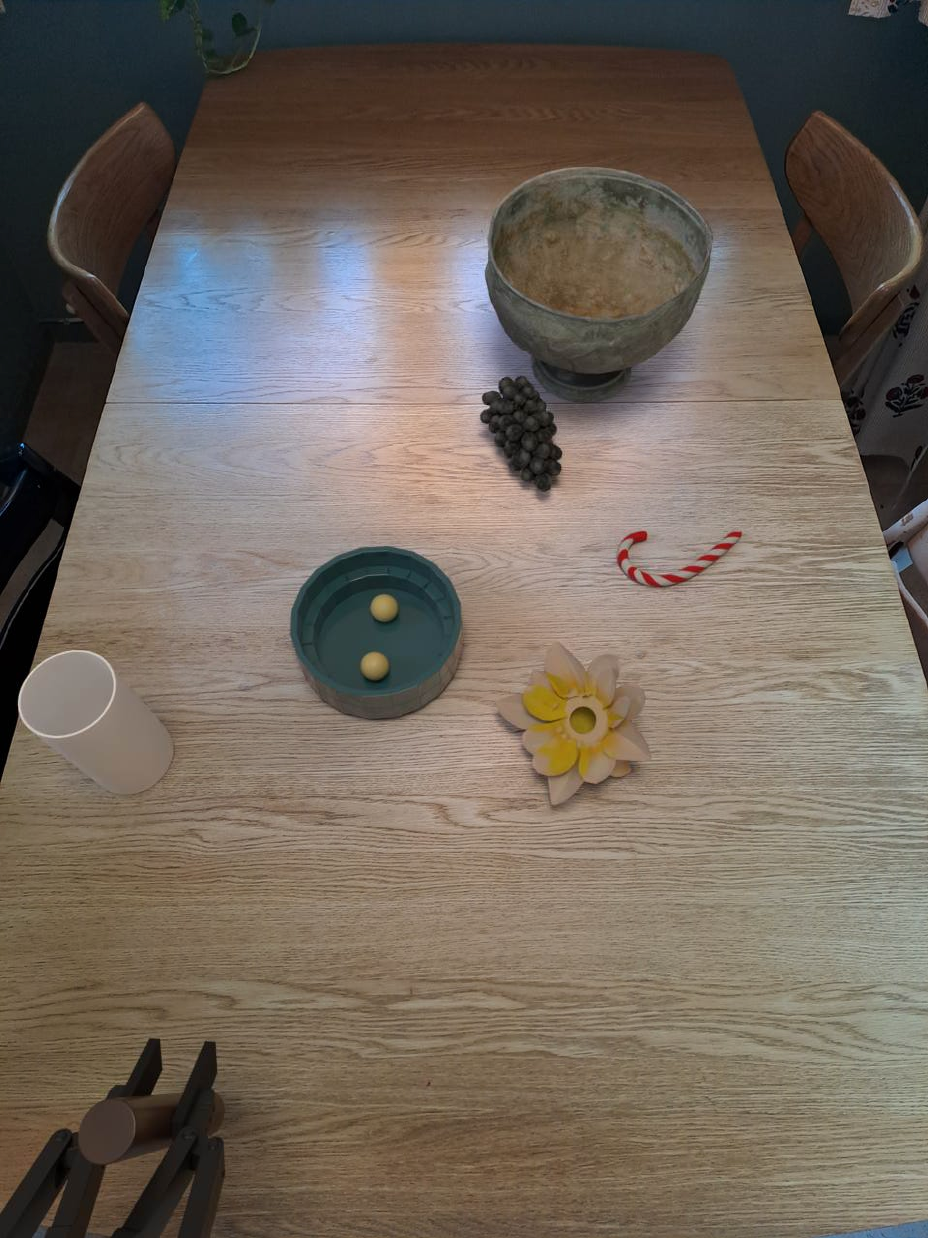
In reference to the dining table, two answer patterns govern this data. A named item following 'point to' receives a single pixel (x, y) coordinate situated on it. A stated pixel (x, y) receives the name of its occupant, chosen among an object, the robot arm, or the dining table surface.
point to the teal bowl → (377, 631)
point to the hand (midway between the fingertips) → (183, 1056)
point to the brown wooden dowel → (132, 1127)
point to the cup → (96, 721)
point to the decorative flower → (578, 721)
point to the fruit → (512, 419)
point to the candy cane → (676, 576)
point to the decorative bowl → (594, 274)
